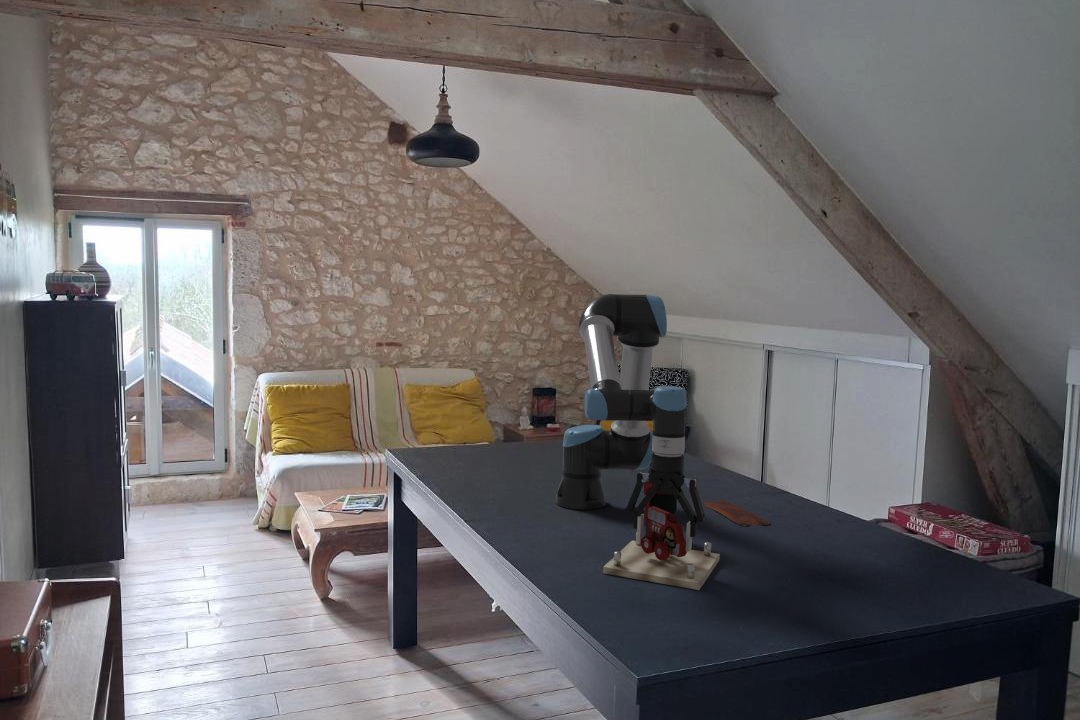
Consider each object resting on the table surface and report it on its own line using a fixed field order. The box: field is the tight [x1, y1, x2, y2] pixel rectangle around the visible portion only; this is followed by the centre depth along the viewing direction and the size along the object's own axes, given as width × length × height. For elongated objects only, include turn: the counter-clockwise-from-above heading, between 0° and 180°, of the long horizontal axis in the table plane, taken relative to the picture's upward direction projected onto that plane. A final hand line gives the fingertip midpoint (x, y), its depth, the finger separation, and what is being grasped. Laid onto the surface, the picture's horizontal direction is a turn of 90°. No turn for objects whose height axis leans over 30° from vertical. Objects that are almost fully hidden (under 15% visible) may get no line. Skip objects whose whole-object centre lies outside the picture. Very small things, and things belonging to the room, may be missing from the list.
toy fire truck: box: [641, 506, 687, 560], centre depth 189 cm, size 7×12×10 cm, turn 29°
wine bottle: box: [643, 466, 678, 536], centre depth 210 cm, size 8×10×30 cm
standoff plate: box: [602, 531, 721, 591], centre depth 190 cm, size 22×22×4 cm
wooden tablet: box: [703, 499, 771, 527], centre depth 238 cm, size 27×10×2 cm, turn 14°
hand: (663, 546), depth 189 cm, fingers closed on toy fire truck, 11 cm apart
